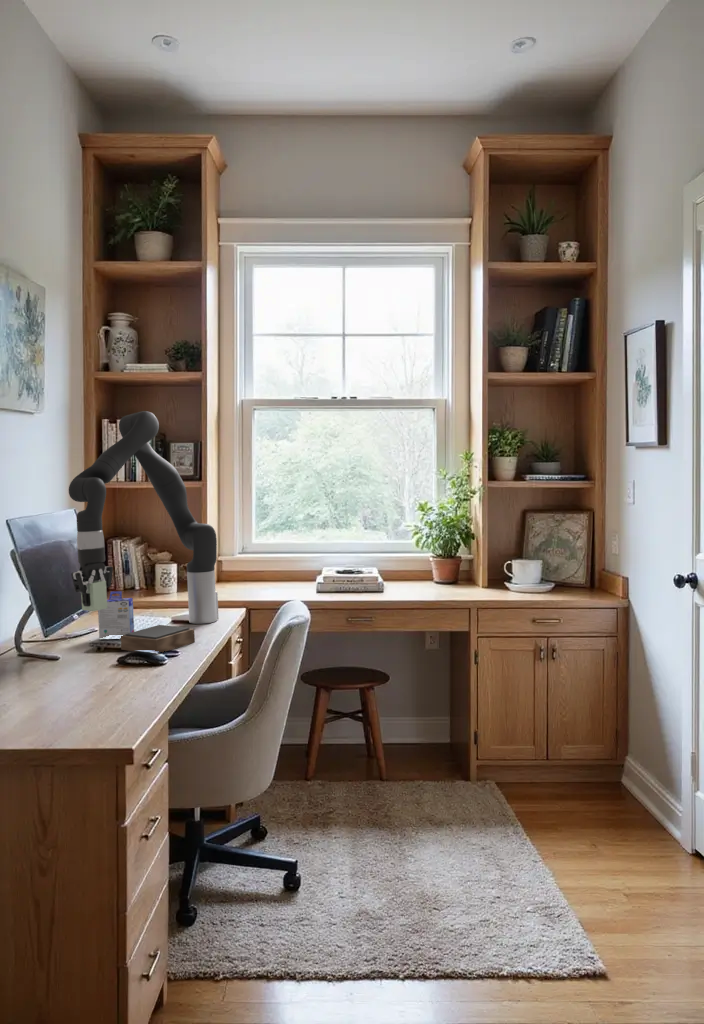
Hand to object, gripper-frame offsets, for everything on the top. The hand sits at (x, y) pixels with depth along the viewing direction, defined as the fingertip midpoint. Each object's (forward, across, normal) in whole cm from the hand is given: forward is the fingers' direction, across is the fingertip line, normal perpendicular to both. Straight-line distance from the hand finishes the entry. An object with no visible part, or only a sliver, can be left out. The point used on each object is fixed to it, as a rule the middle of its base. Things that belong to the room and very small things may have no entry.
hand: (94, 604), depth 240 cm
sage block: (+1, 0, 0) cm, 1 cm away
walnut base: (+14, -11, +14) cm, 22 cm away
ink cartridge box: (+14, -14, -6) cm, 20 cm away
